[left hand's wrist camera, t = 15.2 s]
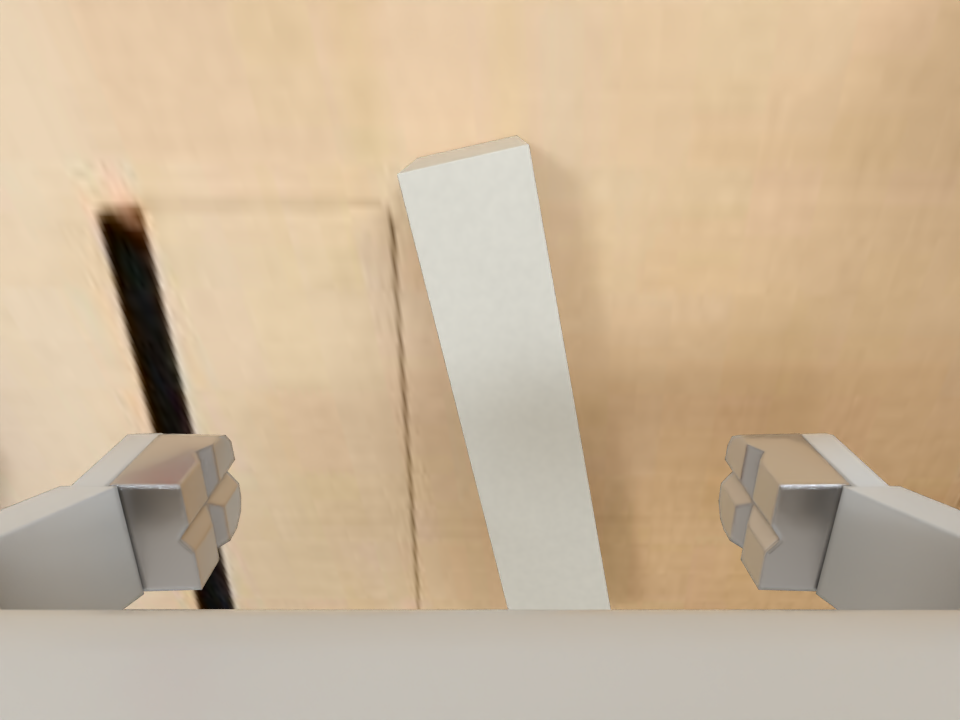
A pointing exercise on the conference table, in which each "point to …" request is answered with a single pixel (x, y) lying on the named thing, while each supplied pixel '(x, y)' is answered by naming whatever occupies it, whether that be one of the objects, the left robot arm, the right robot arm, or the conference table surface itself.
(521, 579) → the bar
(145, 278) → the conference table surface
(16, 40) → the conference table surface
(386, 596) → the conference table surface
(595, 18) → the conference table surface
